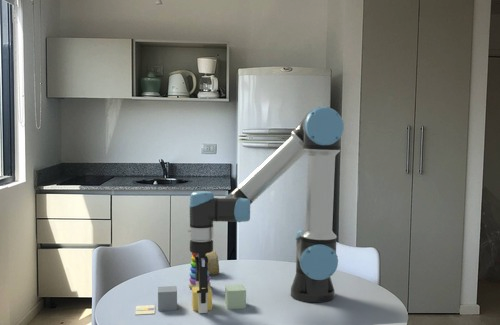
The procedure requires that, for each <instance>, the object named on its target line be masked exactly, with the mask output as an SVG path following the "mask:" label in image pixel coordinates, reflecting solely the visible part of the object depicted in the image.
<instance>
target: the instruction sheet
mask: <svg viewBox="0 0 500 325" xmlns="http://www.w3.org/2000/svg"><path fill="white" fill-rule="evenodd" d="M155 313H156V305H155V304H151V305H147V304H146V305H136V306H135V312H134V315H135V316H137V315H138V316H139V315H140V316H142V315H144V316H145V315H155Z"/></svg>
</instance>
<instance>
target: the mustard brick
mask: <svg viewBox="0 0 500 325" xmlns="http://www.w3.org/2000/svg"><path fill="white" fill-rule="evenodd" d="M202 289H205V288H202ZM197 291H199V287H192V289H191V306H192V311H194V312H199V293H197ZM212 310H213V290H212V288H211V285H210V286H208V292H207V311H212Z"/></svg>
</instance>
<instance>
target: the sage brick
mask: <svg viewBox="0 0 500 325" xmlns="http://www.w3.org/2000/svg"><path fill="white" fill-rule="evenodd" d="M224 287H225V292H224V293H225V294H224V299H225V300H224V303H225V306H226V308H227V310H236V309H237V310H238V309H246V308H247V289H246V287H245V285H244V284H232V285H231V284H229V285H225V286H224Z"/></svg>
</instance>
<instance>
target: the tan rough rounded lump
mask: <svg viewBox="0 0 500 325" xmlns="http://www.w3.org/2000/svg"><path fill="white" fill-rule="evenodd" d="M206 256H207V258H208V272H209V276H212V275H213V276H214V275H220V265H219V264H220V263H219V261H220V260H219V257H218V254H217V251H216V250H213V251H212V252H211V253H206Z"/></svg>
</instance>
